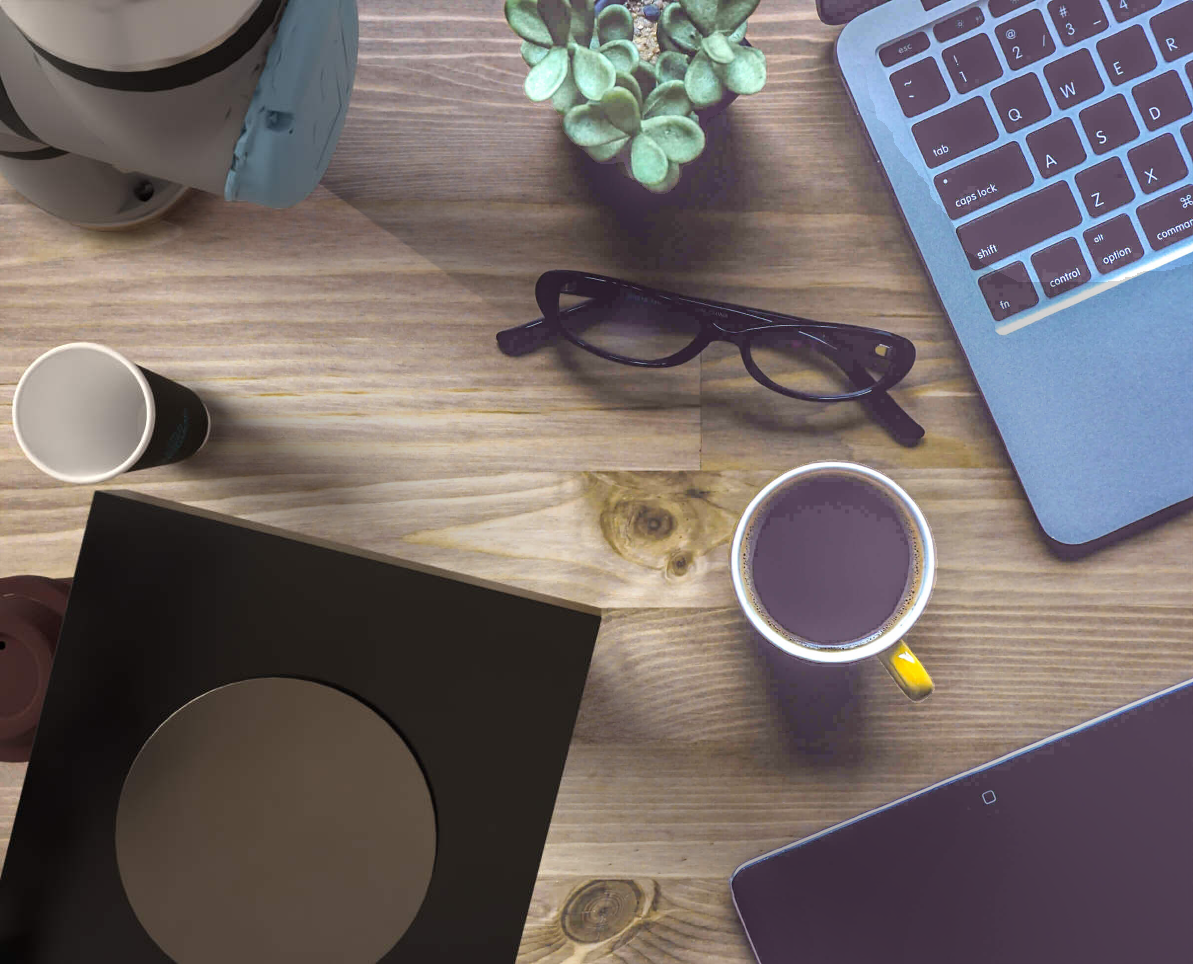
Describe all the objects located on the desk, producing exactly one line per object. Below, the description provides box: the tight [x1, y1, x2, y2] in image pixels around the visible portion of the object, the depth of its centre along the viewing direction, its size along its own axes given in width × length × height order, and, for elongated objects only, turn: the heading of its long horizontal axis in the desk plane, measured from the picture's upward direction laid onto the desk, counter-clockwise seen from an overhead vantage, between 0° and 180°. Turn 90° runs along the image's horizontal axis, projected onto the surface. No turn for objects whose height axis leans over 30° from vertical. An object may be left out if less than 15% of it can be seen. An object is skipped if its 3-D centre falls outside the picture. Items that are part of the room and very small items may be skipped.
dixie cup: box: [11, 341, 212, 485], centre depth 55 cm, size 8×8×11 cm
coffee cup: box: [0, 574, 74, 764], centre depth 53 cm, size 10×10×15 cm
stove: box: [0, 488, 603, 964], centre depth 31 cm, size 20×18×4 cm
